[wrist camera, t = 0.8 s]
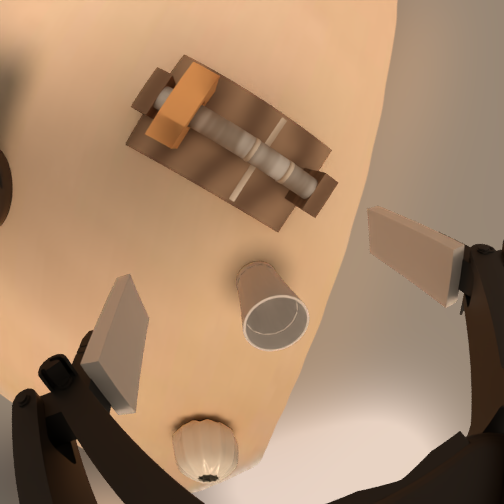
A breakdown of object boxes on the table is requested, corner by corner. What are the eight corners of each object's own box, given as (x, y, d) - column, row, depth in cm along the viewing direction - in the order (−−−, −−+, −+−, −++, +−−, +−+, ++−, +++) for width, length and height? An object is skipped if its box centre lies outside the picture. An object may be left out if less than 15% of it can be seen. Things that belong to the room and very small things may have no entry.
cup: (259, 245, 42) (281, 281, 31) (292, 279, 45) (321, 320, 34) (219, 281, 43) (228, 328, 32) (254, 312, 46) (272, 360, 35)
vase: (242, 416, 55) (254, 466, 43) (222, 447, 59) (229, 492, 47) (179, 406, 51) (181, 460, 39) (166, 439, 55) (166, 486, 42)
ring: (156, 137, 32) (144, 134, 24) (194, 80, 30) (193, 61, 23) (177, 148, 33) (171, 148, 25) (214, 91, 31) (219, 75, 24)
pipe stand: (127, 144, 34) (109, 144, 26) (184, 57, 31) (181, 35, 23) (275, 230, 42) (294, 250, 34) (328, 150, 39) (357, 152, 31)
